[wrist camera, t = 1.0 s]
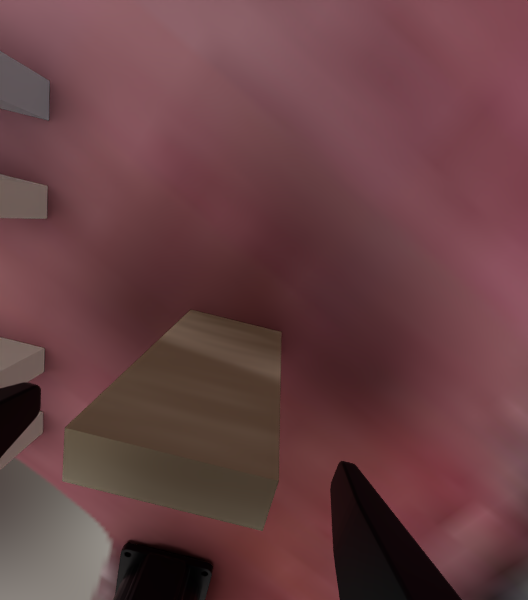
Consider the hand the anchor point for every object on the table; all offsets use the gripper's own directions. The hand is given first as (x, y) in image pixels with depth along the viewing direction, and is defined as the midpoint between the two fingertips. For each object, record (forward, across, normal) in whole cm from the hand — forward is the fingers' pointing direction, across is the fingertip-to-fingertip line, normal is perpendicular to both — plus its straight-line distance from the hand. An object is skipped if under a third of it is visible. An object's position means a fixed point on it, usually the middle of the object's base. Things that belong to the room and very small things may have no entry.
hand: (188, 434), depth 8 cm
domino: (+7, 0, 0) cm, 7 cm away
